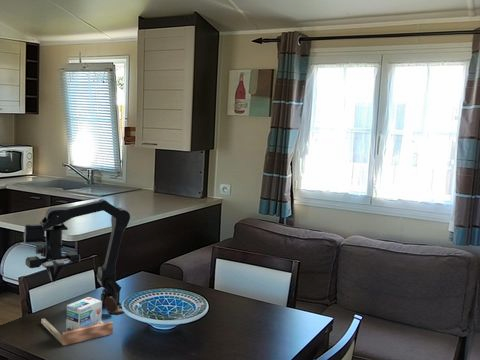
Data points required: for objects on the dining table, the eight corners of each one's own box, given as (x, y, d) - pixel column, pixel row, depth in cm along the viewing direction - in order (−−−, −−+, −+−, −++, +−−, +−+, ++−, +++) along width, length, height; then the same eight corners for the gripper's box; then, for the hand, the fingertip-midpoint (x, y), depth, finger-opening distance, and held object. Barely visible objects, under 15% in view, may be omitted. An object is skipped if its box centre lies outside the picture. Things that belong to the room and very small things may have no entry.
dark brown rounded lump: (128, 311, 192) (129, 293, 191) (114, 317, 185) (115, 298, 184) (113, 306, 196) (113, 288, 195) (99, 312, 189) (99, 294, 188)
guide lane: (87, 313, 187) (88, 303, 186) (112, 333, 171) (113, 322, 170) (41, 323, 175) (41, 312, 175) (63, 345, 159) (63, 334, 159)
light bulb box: (79, 340, 164) (80, 309, 163) (64, 335, 167) (65, 305, 166) (101, 329, 174) (102, 300, 172) (87, 324, 177) (88, 296, 175)
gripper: (70, 234, 195) (69, 272, 197) (21, 239, 183) (20, 279, 185) (81, 240, 187) (80, 280, 188) (30, 246, 174) (29, 288, 176)
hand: (52, 281), depth 185 cm, fingers closed
